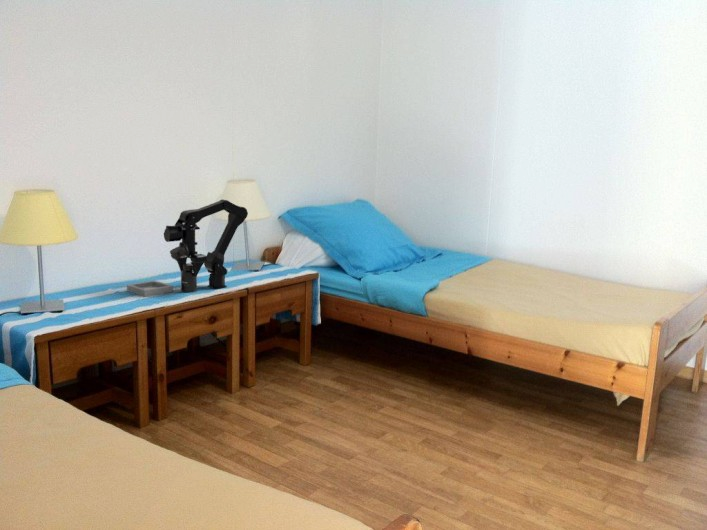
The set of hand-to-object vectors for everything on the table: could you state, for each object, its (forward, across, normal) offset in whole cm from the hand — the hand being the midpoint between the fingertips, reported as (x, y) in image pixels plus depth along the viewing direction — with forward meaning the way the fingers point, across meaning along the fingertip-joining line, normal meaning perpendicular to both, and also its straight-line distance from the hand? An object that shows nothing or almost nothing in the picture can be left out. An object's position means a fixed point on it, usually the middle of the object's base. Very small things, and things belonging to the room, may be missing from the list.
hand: (188, 275), depth 301 cm
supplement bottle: (+7, 0, 0) cm, 7 cm away
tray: (+7, -10, -13) cm, 18 cm away
